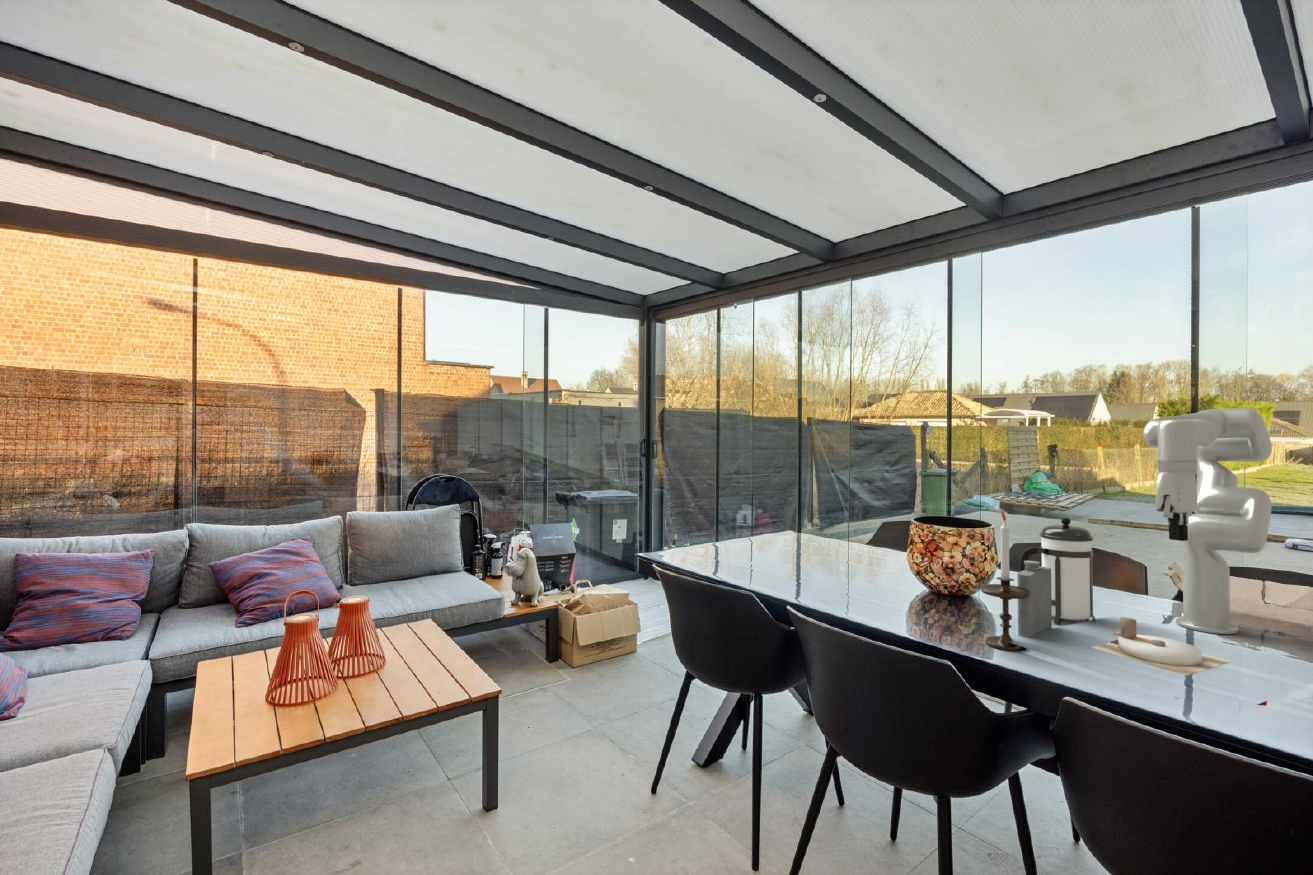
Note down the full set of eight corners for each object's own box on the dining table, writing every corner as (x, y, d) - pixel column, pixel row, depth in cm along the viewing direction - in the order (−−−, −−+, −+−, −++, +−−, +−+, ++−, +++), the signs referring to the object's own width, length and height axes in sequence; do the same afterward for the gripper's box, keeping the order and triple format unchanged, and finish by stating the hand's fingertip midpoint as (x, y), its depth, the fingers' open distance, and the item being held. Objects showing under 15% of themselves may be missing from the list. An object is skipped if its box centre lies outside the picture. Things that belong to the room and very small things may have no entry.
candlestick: (988, 650, 145) (986, 510, 145) (976, 636, 156) (975, 506, 156) (1037, 654, 142) (1036, 512, 143) (1022, 640, 153) (1021, 507, 153)
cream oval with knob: (1213, 657, 135) (1213, 629, 135) (1184, 669, 128) (1184, 640, 128) (1129, 637, 150) (1129, 611, 150) (1099, 646, 143) (1098, 620, 143)
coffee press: (1048, 608, 181) (1046, 512, 181) (1108, 622, 167) (1107, 518, 167) (1018, 617, 172) (1017, 516, 172) (1079, 632, 158) (1078, 522, 158)
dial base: (1135, 642, 151) (1135, 635, 151) (1231, 667, 133) (1231, 660, 133) (1091, 653, 143) (1090, 646, 143) (1186, 682, 126) (1186, 673, 126)
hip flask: (1029, 643, 150) (1028, 566, 150) (1012, 639, 153) (1011, 563, 153) (1053, 631, 160) (1052, 558, 160) (1037, 627, 163) (1036, 556, 163)
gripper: (1175, 466, 154) (1176, 535, 154) (1143, 468, 148) (1144, 539, 148) (1211, 467, 147) (1212, 540, 147) (1179, 469, 141) (1180, 544, 141)
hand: (1178, 539), depth 148 cm, fingers closed
